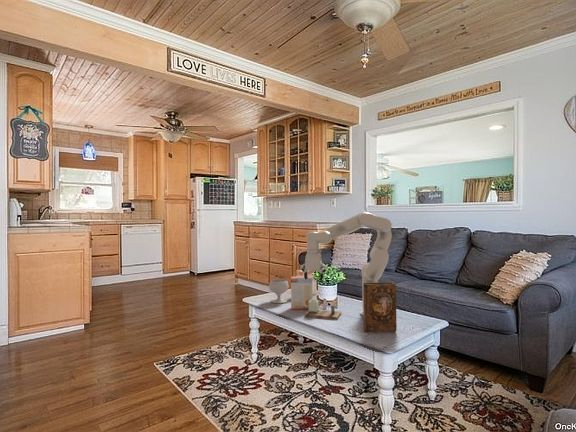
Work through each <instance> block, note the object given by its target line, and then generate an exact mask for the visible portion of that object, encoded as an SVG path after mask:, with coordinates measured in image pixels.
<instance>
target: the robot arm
mask: <svg viewBox="0 0 576 432" xmlns="http://www.w3.org/2000/svg"><path fill="white" fill-rule="evenodd" d="M392 224H393V223H392V221H391V220H390V219H388V218H387V217H384V216H379V215H377V214H374V213H370V212H367V211H366V212H365V211H363V212H362V211H361V212H359V213H357V214H356V215H354V216H351V217H350V218H347V219H345V220H343V221H340V222H338V223H337V224H335V225H333V226H330V227H328V228H325V229H324V230H322V231H319V232H318V231H308V232H307V233H306V254H305V260H304V261H305V262H304V263H302V264H301V265H299V267H300V268H299V269H300V270H302V271H303V272H304V278H305V280H306V279H308V276H307V271H308V270H315V271H316V272H317V271H318V272H319V273H320V274H319V278H320V279H319V280H320V281H322V280H323V279H324V273H325V272H326V271H327V269H328V265H326V264H324V263H323V261H322V255H321V253H322V249H320V244H324V245H327V244H330V243H331V241H332V240H333V239H335V238H338V237H341V236H344V235H345V236H346V235H349V234H352V233H353V232H356V231H357V230H359V229H362V228H369V229H371V230H375V231H376V232H377V233H376V234H377V237H376V239H375V242H374V244H373V246H372V249H371V250H370V253H369V257H370V261H369V262H366V263H364V264H363V265H362V267H361V281H362V283H361V286H362V288H361V289H362V290H361V291H362V293H361V294H362V296H361V298H362V309H361V310H360V312H359V315H361V316H363V317H364V296H363V283H379V280H380V278H381V277H382V275H383V273H384V271H385V269H386V267H387V265H388V263H389V260H390V259H389V258H390V254H389V251H388V250H389V247H390V245H391V243H392V237H393V236H392V231H391V229H392V227H393V226H392Z"/></svg>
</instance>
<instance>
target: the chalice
mask: <svg viewBox="0 0 576 432" xmlns="http://www.w3.org/2000/svg"><path fill="white" fill-rule="evenodd" d="M289 288H290V286H289V282H288V280H287V279H284V278H275V279H274V278H273V279H271V280H270V281H269V283H268V289H269V290H270V292H272V293H274V294H275V295H276V296H277V298H274V299H271V300H270V303H273V304H284V303H287V302H288V299H285V298H281V296H282V295H283V294H284V293H285V292H287V291H288V290H289Z"/></svg>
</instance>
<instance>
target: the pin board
mask: <svg viewBox="0 0 576 432" xmlns="http://www.w3.org/2000/svg"><path fill="white" fill-rule="evenodd" d="M335 306H336V305H330V310H325V309H319V312H318V313H317V314H314V313H309V310H307V312H305V314H304V317H305V318H311V319H313V318H314V319H322V320H334V321H335V320H336V321H338V319H340V317H341V316H342V311H335Z"/></svg>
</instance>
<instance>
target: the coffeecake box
mask: <svg viewBox="0 0 576 432" xmlns="http://www.w3.org/2000/svg"><path fill="white" fill-rule="evenodd" d="M295 271H296V276H304V272H303V271H302V270H301V269H296V270H295ZM313 272H315V270H308V271H307V276H312V273H313ZM312 287H313V296H315V295H317V294H318V291H317V287H318V286H317V279H316V280H315V279H314V278H313V277H312Z"/></svg>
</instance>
